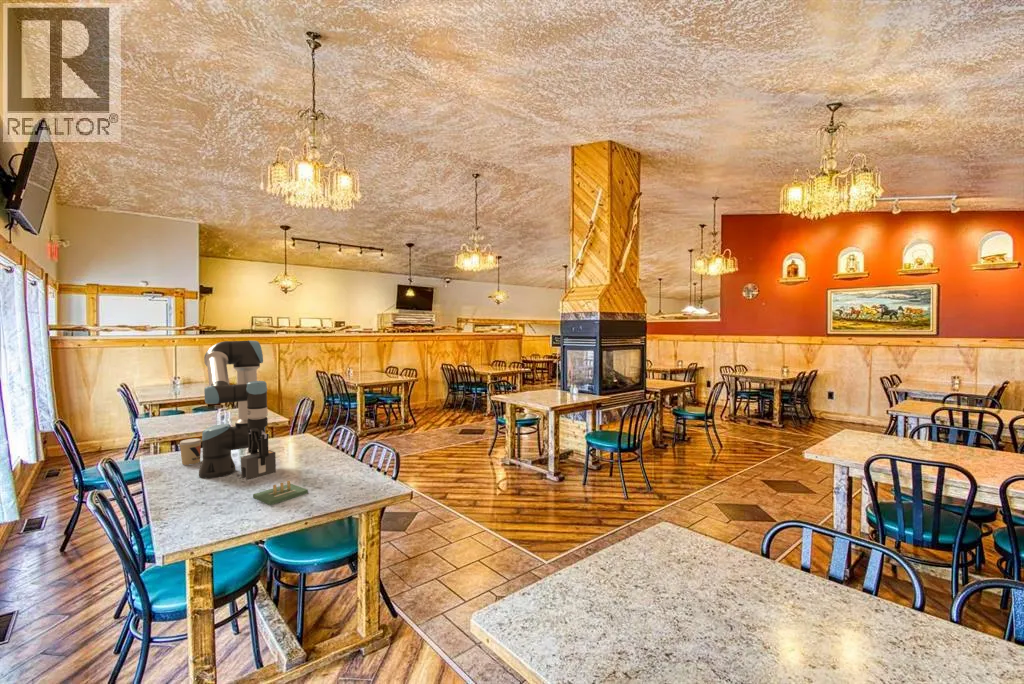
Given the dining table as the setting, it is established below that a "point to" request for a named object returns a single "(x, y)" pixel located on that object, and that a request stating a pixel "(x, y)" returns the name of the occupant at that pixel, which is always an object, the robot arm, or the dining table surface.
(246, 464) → the plug housing
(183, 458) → the coffee cup
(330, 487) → the dining table surface
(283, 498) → the header board
